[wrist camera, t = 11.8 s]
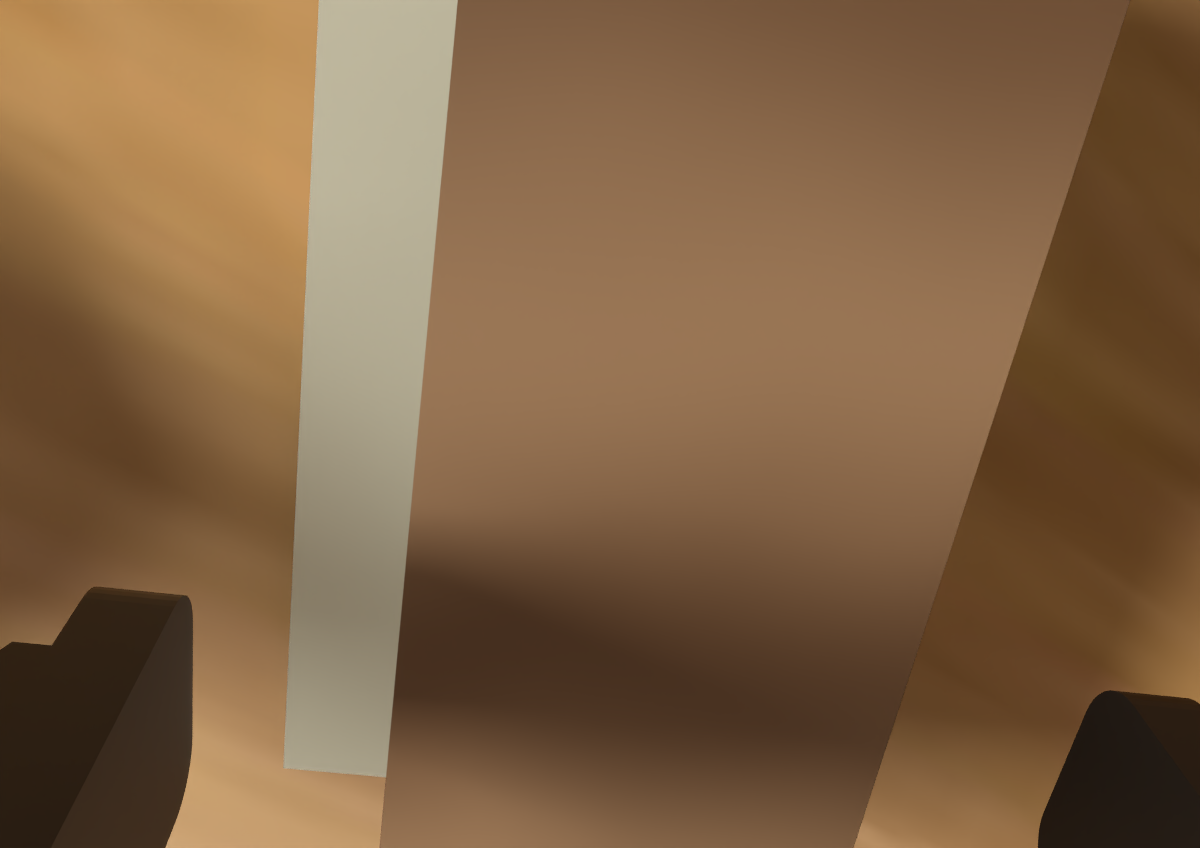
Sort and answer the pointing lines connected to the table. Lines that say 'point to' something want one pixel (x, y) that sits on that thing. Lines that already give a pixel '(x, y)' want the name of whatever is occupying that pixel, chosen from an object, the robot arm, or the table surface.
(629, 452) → the walnut shelf board
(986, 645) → the table surface
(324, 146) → the peg stand
